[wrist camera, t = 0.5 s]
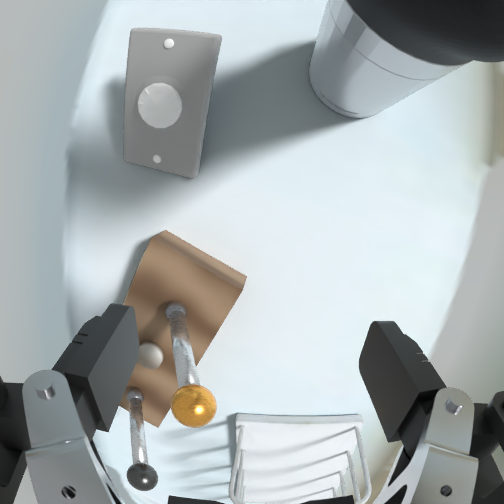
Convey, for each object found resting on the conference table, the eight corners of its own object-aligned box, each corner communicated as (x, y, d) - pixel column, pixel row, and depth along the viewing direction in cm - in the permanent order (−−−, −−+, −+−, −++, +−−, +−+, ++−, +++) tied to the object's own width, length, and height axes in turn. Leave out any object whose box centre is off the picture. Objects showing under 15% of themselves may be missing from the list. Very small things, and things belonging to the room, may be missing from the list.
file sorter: (236, 411, 38) (218, 504, 23) (361, 411, 36) (385, 500, 21) (240, 495, 44) (229, 560, 29) (331, 495, 42) (336, 560, 27)
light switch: (118, 165, 29) (124, 29, 19) (144, 143, 33) (156, 25, 23) (191, 184, 29) (215, 35, 19) (210, 159, 33) (235, 34, 23)
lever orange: (166, 288, 28) (184, 407, 16) (196, 298, 30) (229, 413, 18) (154, 313, 29) (167, 432, 17) (183, 322, 31) (209, 437, 19)
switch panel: (162, 228, 32) (143, 238, 27) (246, 276, 33) (241, 294, 27) (104, 372, 38) (88, 393, 33) (166, 409, 39) (155, 433, 34)
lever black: (126, 379, 32) (132, 483, 20) (150, 385, 33) (164, 486, 21) (120, 394, 33) (125, 492, 21) (143, 399, 34) (155, 495, 22)
